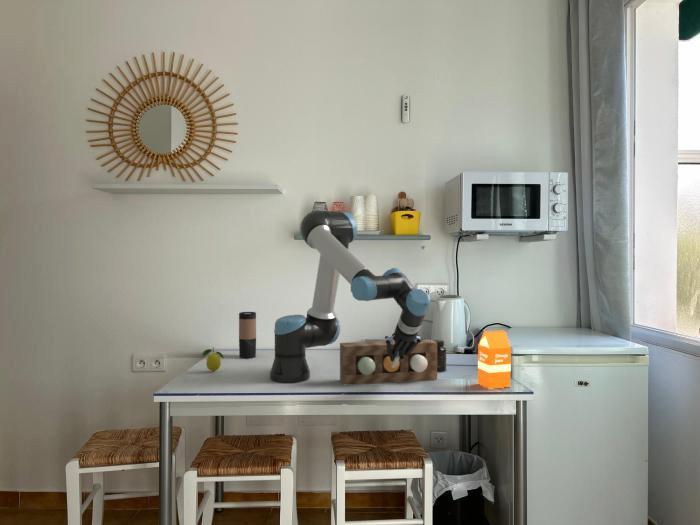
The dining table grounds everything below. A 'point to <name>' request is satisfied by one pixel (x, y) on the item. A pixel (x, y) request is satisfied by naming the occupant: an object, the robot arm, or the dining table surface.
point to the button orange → (389, 364)
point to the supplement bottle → (441, 356)
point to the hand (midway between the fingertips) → (393, 364)
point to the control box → (376, 352)
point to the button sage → (366, 365)
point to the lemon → (213, 359)
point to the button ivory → (418, 363)
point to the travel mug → (247, 335)
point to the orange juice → (494, 360)
